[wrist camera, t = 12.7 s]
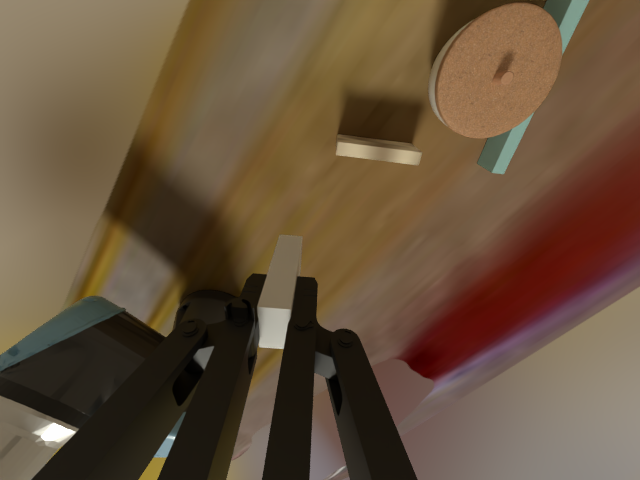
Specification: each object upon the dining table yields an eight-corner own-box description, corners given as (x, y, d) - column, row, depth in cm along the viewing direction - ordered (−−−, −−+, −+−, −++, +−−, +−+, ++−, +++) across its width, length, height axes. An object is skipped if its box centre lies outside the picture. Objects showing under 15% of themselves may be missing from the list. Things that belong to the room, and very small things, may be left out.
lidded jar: (399, 71, 31) (421, 68, 23) (491, -9, 27) (556, -45, 19) (441, 144, 35) (473, 164, 27) (527, 84, 31) (593, 87, 23)
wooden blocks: (335, 145, 36) (335, 154, 31) (361, -41, 26) (366, -64, 22) (408, 154, 36) (418, 165, 32) (460, -27, 26) (484, -47, 22)
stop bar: (477, 163, 36) (491, 172, 33) (552, -14, 27) (584, -28, 23) (487, 165, 36) (503, 174, 33) (567, -13, 27) (601, -26, 23)
